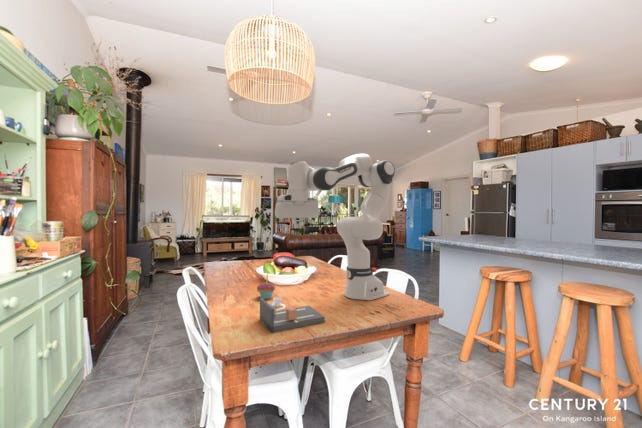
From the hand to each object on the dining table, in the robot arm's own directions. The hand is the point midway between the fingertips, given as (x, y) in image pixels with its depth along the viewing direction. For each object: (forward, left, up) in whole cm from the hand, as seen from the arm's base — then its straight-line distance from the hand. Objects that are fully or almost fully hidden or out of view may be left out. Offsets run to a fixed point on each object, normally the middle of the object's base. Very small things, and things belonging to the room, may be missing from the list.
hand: (297, 228), depth 129 cm
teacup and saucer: (+12, -3, -35) cm, 37 cm away
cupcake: (+10, -15, -34) cm, 39 cm away
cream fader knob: (+16, +13, -32) cm, 38 cm away
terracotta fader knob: (+11, +21, -32) cm, 40 cm away
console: (+9, +17, -34) cm, 39 cm away
